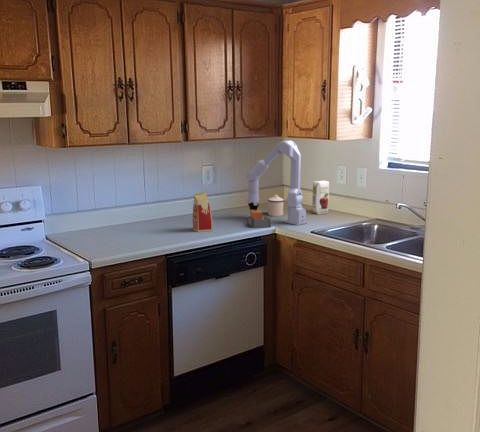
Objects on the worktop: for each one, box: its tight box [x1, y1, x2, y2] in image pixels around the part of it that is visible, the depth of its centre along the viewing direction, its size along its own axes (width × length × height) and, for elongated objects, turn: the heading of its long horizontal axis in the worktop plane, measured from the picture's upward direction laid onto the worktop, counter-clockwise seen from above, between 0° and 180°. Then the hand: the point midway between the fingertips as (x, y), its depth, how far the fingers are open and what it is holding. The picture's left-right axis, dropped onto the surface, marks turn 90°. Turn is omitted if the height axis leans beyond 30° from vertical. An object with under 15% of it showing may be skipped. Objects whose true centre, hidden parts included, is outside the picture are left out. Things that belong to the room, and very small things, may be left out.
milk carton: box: [192, 189, 213, 233], centre depth 266 cm, size 9×9×20 cm
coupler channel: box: [247, 215, 271, 229], centre depth 277 cm, size 10×10×4 cm
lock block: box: [249, 208, 263, 220], centre depth 287 cm, size 8×5×6 cm, turn 8°
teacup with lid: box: [267, 194, 285, 217], centre depth 306 cm, size 12×9×12 cm
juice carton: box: [311, 179, 330, 216], centre depth 309 cm, size 8×9×19 cm
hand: (253, 216), depth 295 cm, fingers closed
